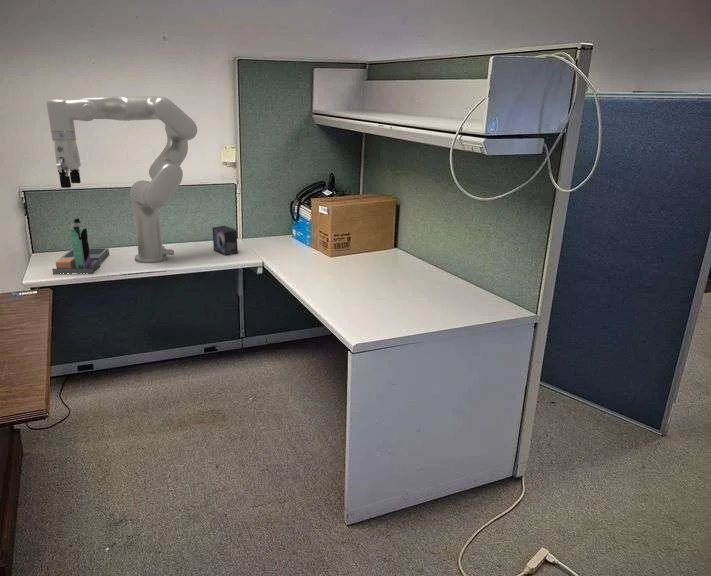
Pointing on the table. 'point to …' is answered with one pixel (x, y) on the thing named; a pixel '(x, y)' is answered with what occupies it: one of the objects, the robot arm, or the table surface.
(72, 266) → the block
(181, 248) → the table surface
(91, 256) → the tray
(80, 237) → the spray can
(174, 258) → the table surface
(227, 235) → the small box
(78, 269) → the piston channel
